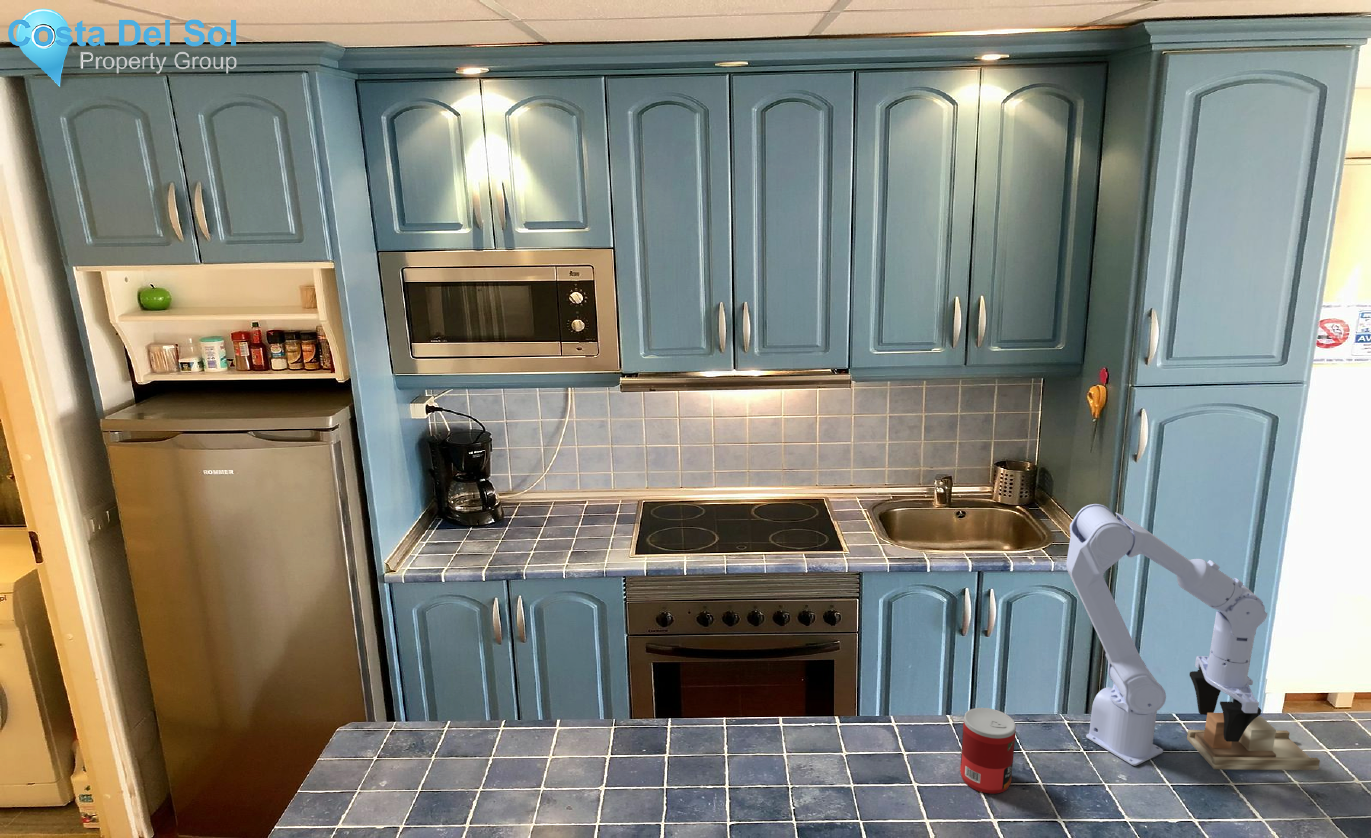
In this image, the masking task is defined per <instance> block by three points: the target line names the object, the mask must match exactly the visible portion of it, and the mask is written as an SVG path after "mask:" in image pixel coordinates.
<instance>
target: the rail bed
mask: <svg viewBox="0 0 1371 838" xmlns="http://www.w3.org/2000/svg"><path fill="white" fill-rule="evenodd" d="M1204 732H1205V729H1188V730H1187V736H1186V740H1187V741H1188V742H1189V743H1190V744H1191V746H1193V748H1194V749H1195V750H1197V752H1198V753H1199V754H1200V755H1201V756H1202V758H1203V759H1204V760H1205V761H1206V762H1207V763H1208V764H1209V765H1210V766H1211V768H1212V769H1213V770H1251V771H1252V770H1253V771H1254V770H1258V771H1259V770H1261V771H1262V770H1264V771H1265V770H1266V771H1267V770H1269V771H1270V770H1271V771H1274V770H1275V771H1276V770H1277V771H1286V770H1289V771H1318V770H1319V768H1320V762H1321V760H1320V759H1319V758H1318V757H1310V756H1309V755H1308V754H1307V753H1306V752H1304V751H1305V750H1303V749H1302V748H1300V746H1298V745H1297V744H1296V743H1295V742H1294V741H1293V740H1292V739H1290V731H1288V730H1287V729H1286V730H1285V729H1284V730H1283V729H1282V730H1277V729H1276V734H1275V740H1274V745H1273V752H1274V753H1275V754H1276V757H1212V756H1211V755H1210V754H1209V753H1208V752H1207V751H1206V750H1205V749H1204V748H1203V746H1202V745H1201V744H1200V743H1199V742H1198V741H1197V740H1196V739H1195V733H1204Z"/></svg>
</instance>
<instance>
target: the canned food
mask: <svg viewBox="0 0 1371 838" xmlns="http://www.w3.org/2000/svg"><path fill="white" fill-rule="evenodd" d="M1016 727H1017V726H1016V723H1015V720H1014V718H1012V717H1011V716H1009V715H1008V714H1006V713H1005V712H1003V711H1000V710H997V709H995V708H994V709H993V708H989V707H976V708H975V707H974V708H970V709H969V710H968V711H966V712H965V713H964V717H963V724H962V735H961V736H962V739H961V753H960V754H961V755H960V767H959V772H960V776H961V779H962V780H963V782H964V783H965V784H966V785H967V786H969V787H970V788H971V789H973V790H976V791H977V792H981V793H984V794H989V795H990V794H992V795H993V794H994V795H995V794H1001V793H1004V792H1006V791H1008V789H1009V787H1010V785H1011V783H1012V777H1013V766H1014V765H1013V763H1014V756H1015V754H1014V753H1015V745H1016V732H1017V728H1016Z"/></svg>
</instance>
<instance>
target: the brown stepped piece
mask: <svg viewBox="0 0 1371 838" xmlns="http://www.w3.org/2000/svg"><path fill="white" fill-rule="evenodd" d="M1204 730H1205V732H1204V733H1195V739H1196V740H1197V741H1198V742H1199V743H1200V744H1201V745H1202V746H1203V748H1204V749H1205V750H1206V751H1207V752H1208V753H1209V754H1210V755H1211V756H1212V757H1276V754H1275V753H1274V752H1273V751H1248V750H1247V749H1246V748H1245V747H1244V746H1243V745H1242V744H1241V743H1240V742H1227V741H1226V740H1225V739H1224V716H1223V712H1214V713H1207V715H1206V720H1205V727H1204Z"/></svg>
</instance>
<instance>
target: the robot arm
mask: <svg viewBox="0 0 1371 838" xmlns="http://www.w3.org/2000/svg"><path fill="white" fill-rule="evenodd" d="M1069 533H1070V534H1069V536H1070V537H1069V544H1068V551H1067V557H1066V562H1065V564H1066V565H1065V566H1066V570H1067V572H1068V575H1069V576H1070V580H1071V581H1072V583H1073V585H1074V587H1075V590H1076V592H1077V594H1078V596H1079V598H1080V600H1081V602H1082V604H1083V607H1084V609H1085V610H1086V614H1087V616H1088V618H1089V620H1090V622H1091V624H1092V626H1093V628H1094V630H1095V632H1096V634H1097V637H1098V639H1099V641H1100V642H1101V645H1102V647H1103V650H1104V652H1105V658H1106V660H1107V664H1108V665H1107V674H1108V677H1109V678H1110V680H1111V682H1112V683H1113V684H1112V687H1104V688H1102V689H1101V690H1100V691H1098V693H1097V694H1096V695H1095V697H1094V700H1093V702H1092V706H1091V713H1090V714H1091V715H1090V722H1089V723H1090V724H1089V733H1087V734H1086V735H1085V737H1086V739H1088V740H1090V741H1091V742H1093V743H1095V744H1096V745H1099V747H1101V748H1103V749H1105V750H1106V751H1108V752H1110V753H1112V755H1115V756H1116V757H1118V758H1120V759H1121V760H1122V761H1125V762H1126V763H1128V764H1129V765H1131V766H1133V767H1134V766H1135V767H1136V766H1138V765H1140V764H1143V763H1144V762H1146V761H1148V760H1150V759H1152V758H1155V757H1157V756H1160V755H1161V754H1163V753H1164V749H1163V748H1161V747H1160V746H1158V745H1156V744H1155V743H1154V735H1155V729H1156V728H1155V727H1156V720H1157V714H1158V711H1159V710H1161V709H1162V708H1163V706H1164V705H1165V703H1166V699H1167V695H1166V690H1165V689H1164V687H1163V685H1162V684H1160V683H1159V682H1158V681H1157V679H1156V678H1155V677H1154V675H1153V674H1152V672H1151V671H1150V670H1149V668H1148V667H1147V664H1146V663H1145V661H1144V660H1143V659H1142V657H1141V655H1140V654H1139V651H1138V650H1137V647H1136V645H1135V643H1134V641H1133V638H1132V636H1131V634H1130V632H1129V630H1128V628H1127V626H1126V623H1125V621H1124V619H1123V616H1122V615H1121V612H1120V610H1119V608H1118V606H1117V604H1116V601H1115V599H1114V597H1113V594H1112V593H1111V591H1110V588H1109V586H1108V585H1107V582H1106V580H1105V577H1104V574H1105V573H1106V572H1107V570H1108V569H1109V568H1111V567H1112V566H1113V565H1115V564H1116V563H1117V562H1118V561H1119V560H1120V559H1122V558H1123V557H1124V556H1125V555H1126V556H1127V557H1128V558H1134V557H1136V556H1139V555H1143V556H1144V557H1146V558H1148V559H1150V561H1153V562H1154V563H1156V564H1158V565H1159V566H1160V567H1163V568H1164V569H1166V570H1167V571H1169V572H1170V573H1172V574H1174V575H1176V579H1177V581H1176V582H1177V584H1178V586H1179V588H1181V589H1183V590H1184V591H1185V592H1187V593H1188V594H1190V595H1192V596H1193V597H1195V598H1197V600H1199V601H1201V602H1203V603H1204V604H1205V605H1207V606H1208V607H1210V608H1211V609H1215V610H1216V612H1215V618H1214V624H1213V630H1212V631H1213V632H1212V636H1211V637H1212V638H1211V641H1210V642H1211V643H1210V648H1209V655H1207V656H1206V655H1203V656H1200V655H1196V658H1195V663H1194V666H1195V667H1196V668H1197V670H1196V671H1195V670H1194V671H1193V670H1192V671H1189V678H1190V679H1191V681H1192V684H1193V687H1194V691H1195V696H1196V703H1197V710H1198V714H1199V715H1202V716H1203V715H1205V716H1207V713H1215V711H1216V707H1217V704H1218V699H1219V697H1220V694H1221V692H1222V693H1225V694H1226V695H1227V696H1230V697H1231V698H1233V701H1220V702H1219V706H1220V708H1221V709H1222V710H1221V711H1222V713H1223V716H1224V739H1225V740H1226V741H1227V742H1239V740H1240V738H1241V736H1242V735H1243V733H1244V731H1245V729H1246V728H1247V726H1248V725H1249V724H1250V723H1251V722H1252V721H1253V720H1254V719H1255V718H1256V717H1258V716H1261V714H1262V709H1261V707H1259V705H1260V702H1259V701H1258V700H1257V699H1256V698H1255V695H1254V694H1253V692H1252V689H1251V687H1250V686H1252V685H1253V684H1254V680H1253V679H1251V678H1250V676H1249V671H1250V663H1251V659H1252V653H1253V652H1252V651H1253V649H1254V647H1253V646H1254V643H1255V642H1254V640H1255V636H1256V632H1257V629H1258V627H1259V626H1260V625H1262V624H1263V623H1264V622H1265V620H1266V619H1267V616H1268V612H1266V610H1265V609H1266V608H1265V605H1264V603H1263V600H1262V599H1261V598H1260V597H1258V596H1257V595H1256V594H1255V593H1254V592H1252V590H1251V589H1249V588H1248V587H1247V586H1246V585H1244V583H1243V581H1241V580H1240V579H1238V578H1236V577H1234V578H1231V577H1230V576H1229V575H1227V574H1225V573H1224V572H1223V571H1220V568H1221V567H1220V566H1219V565H1218V564H1217V563H1216V562H1214V561H1213V560H1211V559H1209V560H1208V561H1206V560H1204V559H1202V558H1193V559H1189V558H1186V557H1185V555H1182V554H1181V553H1180V552H1179V551H1177V550H1176V549H1174V548H1172V547H1171V546H1170V545H1168V544H1167V543H1165V542H1164V541H1163V540H1161V539H1160V538H1158V537H1157V536H1156V535H1154V534H1153V533H1151V532H1150V531H1149V530H1148V529H1146V528H1144V527H1143V526H1141V525H1140V524H1138V523H1137V522H1135V521H1132V520H1131V519H1130V518H1128V517H1126V516H1124V515H1123V514H1120V513H1118V512H1115V515H1114V513H1113V511H1112V510H1111V509H1110V508H1108V506H1106V505H1104V504H1100V503H1093V504H1092V503H1091V504H1088V505H1085V506H1083V507H1081V508H1080V510H1079V511H1078V512H1077V513H1076V514H1075V516H1074V518H1073V519H1072V520H1071V522H1070V524H1069Z"/></svg>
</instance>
